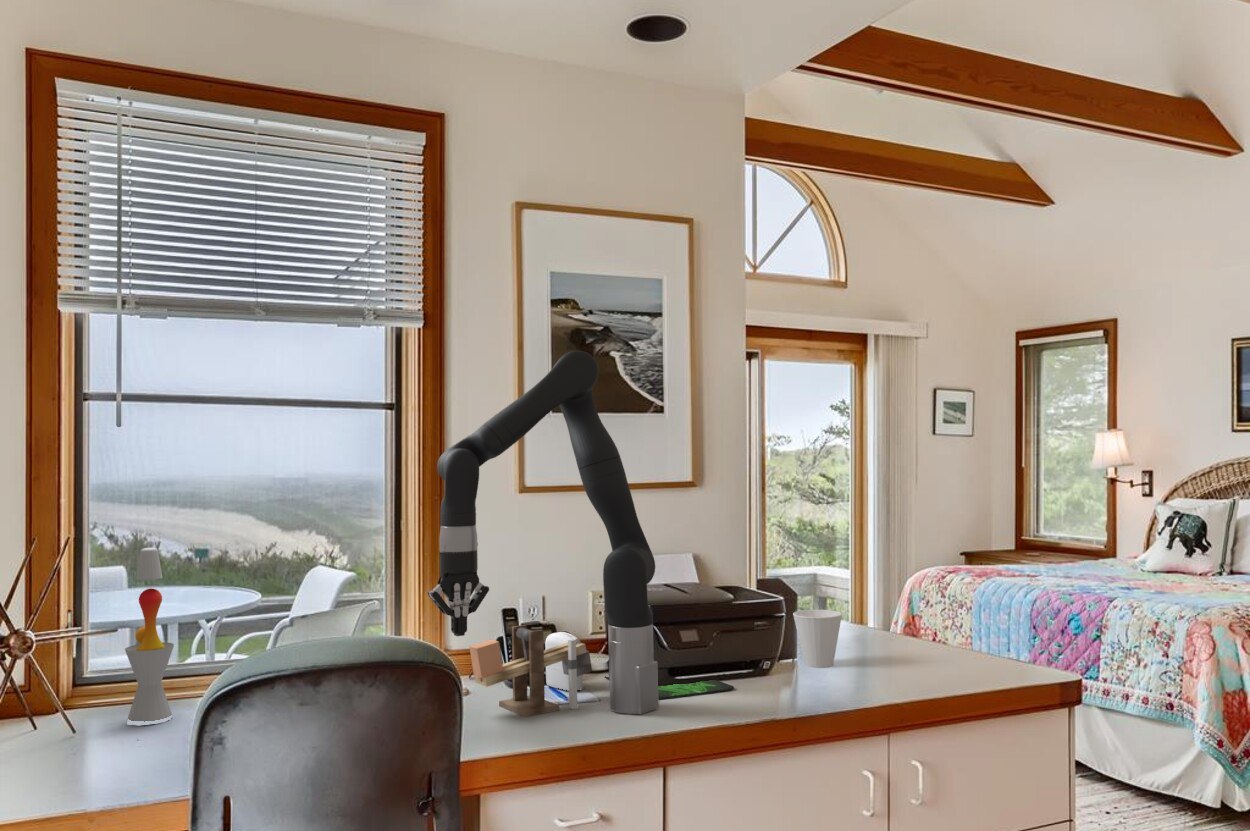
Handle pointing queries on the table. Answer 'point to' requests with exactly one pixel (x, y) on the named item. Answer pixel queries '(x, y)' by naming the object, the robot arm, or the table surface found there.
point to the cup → (818, 636)
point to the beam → (550, 658)
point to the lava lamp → (149, 648)
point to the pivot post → (536, 673)
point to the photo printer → (559, 663)
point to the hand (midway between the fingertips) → (459, 635)
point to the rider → (486, 658)
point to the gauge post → (572, 673)
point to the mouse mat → (691, 689)
